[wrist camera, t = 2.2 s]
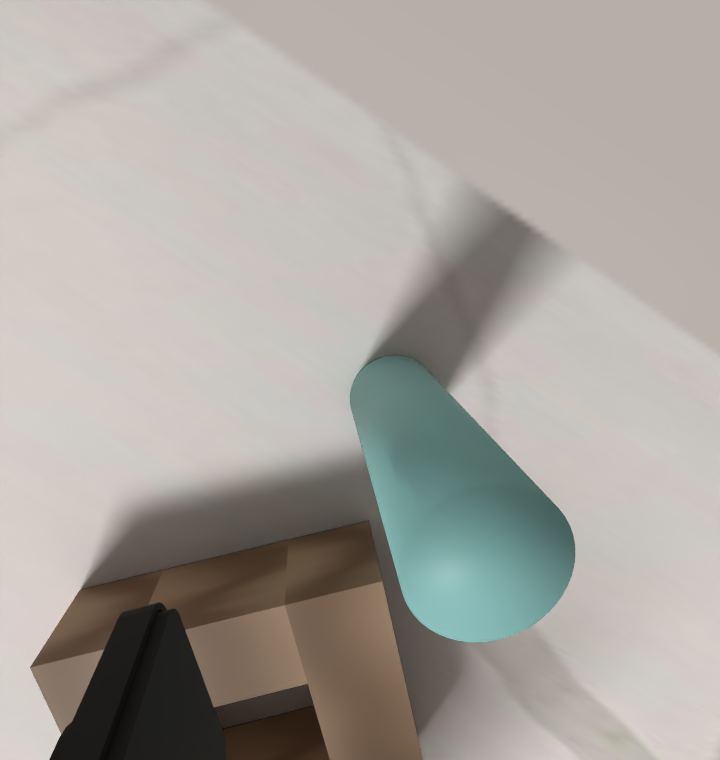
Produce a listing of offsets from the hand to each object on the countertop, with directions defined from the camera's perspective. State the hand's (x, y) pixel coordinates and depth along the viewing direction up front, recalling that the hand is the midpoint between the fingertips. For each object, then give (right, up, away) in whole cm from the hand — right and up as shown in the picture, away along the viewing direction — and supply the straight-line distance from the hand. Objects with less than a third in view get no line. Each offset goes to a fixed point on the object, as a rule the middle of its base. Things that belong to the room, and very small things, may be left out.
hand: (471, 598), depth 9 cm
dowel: (-1, +3, +12) cm, 12 cm away
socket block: (-6, -9, +14) cm, 18 cm away
